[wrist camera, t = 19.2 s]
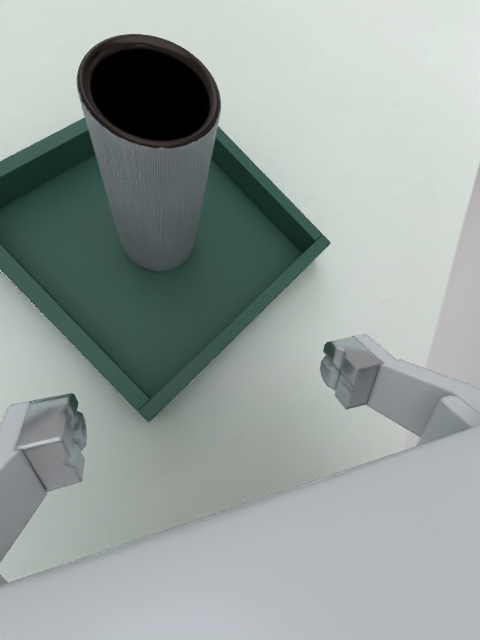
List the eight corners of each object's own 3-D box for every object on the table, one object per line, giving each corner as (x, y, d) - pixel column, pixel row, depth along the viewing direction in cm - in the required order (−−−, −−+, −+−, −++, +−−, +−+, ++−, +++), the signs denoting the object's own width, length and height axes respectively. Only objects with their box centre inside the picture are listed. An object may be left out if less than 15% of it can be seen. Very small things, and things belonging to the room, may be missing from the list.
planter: (201, 221, 21) (234, 66, 11) (183, 281, 19) (203, 167, 10) (133, 198, 20) (104, 10, 10) (110, 260, 19) (51, 112, 9)
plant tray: (314, 258, 23) (331, 242, 20) (150, 418, 18) (148, 422, 15) (167, 107, 23) (168, 73, 20) (-39, 223, 18) (-70, 196, 15)
